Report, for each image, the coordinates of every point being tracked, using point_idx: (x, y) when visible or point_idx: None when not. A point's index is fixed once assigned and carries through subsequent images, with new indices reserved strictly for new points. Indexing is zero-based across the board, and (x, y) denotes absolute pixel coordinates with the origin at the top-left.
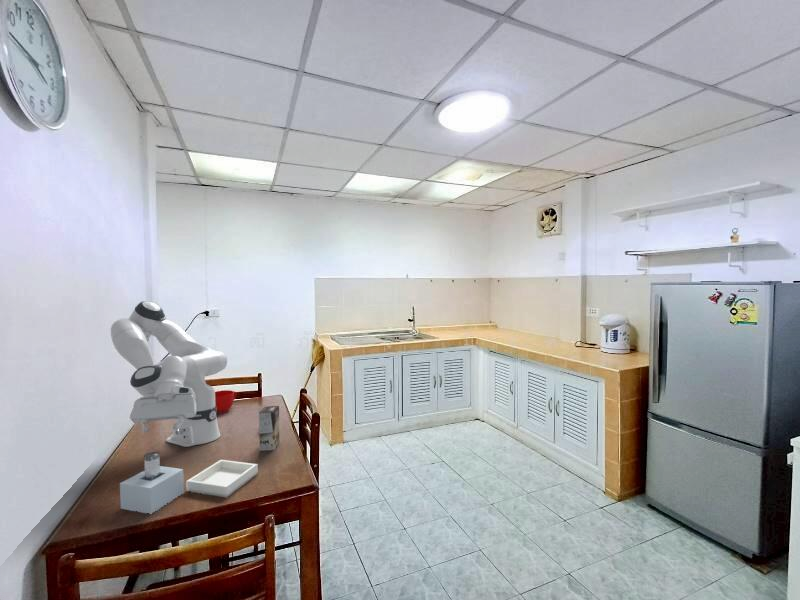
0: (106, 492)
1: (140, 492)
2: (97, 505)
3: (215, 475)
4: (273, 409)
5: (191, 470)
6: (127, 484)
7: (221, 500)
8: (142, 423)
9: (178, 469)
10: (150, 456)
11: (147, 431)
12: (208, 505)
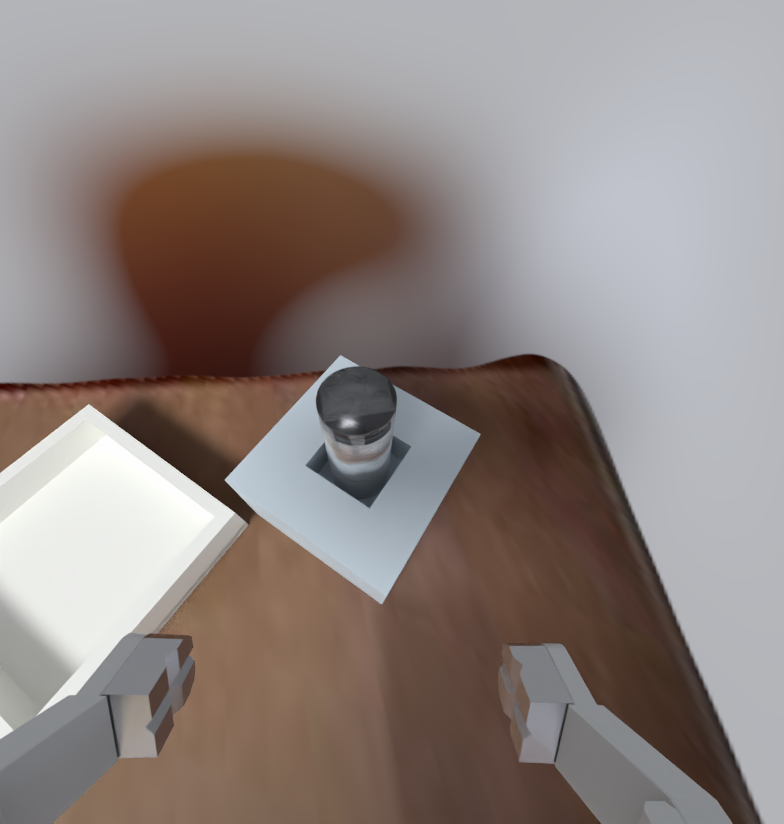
0: (591, 645)
1: None
2: (556, 529)
3: (109, 623)
4: None
5: (228, 800)
6: (442, 413)
7: (134, 414)
8: (646, 762)
9: (247, 486)
10: (356, 373)
11: (503, 683)
12: (179, 399)
